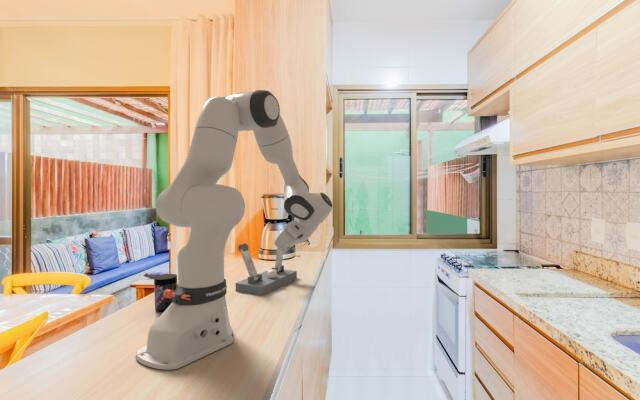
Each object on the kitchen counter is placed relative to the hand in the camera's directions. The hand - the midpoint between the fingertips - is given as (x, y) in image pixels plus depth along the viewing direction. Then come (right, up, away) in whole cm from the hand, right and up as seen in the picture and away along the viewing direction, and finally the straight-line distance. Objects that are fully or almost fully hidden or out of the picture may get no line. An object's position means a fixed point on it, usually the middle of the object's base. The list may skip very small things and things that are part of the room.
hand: (283, 250), depth 131 cm
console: (-6, -13, -5) cm, 15 cm away
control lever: (-2, -8, +1) cm, 9 cm away
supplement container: (-34, -14, -30) cm, 47 cm away
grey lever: (-9, -9, -12) cm, 18 cm away
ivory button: (-4, -10, -7) cm, 12 cm away
